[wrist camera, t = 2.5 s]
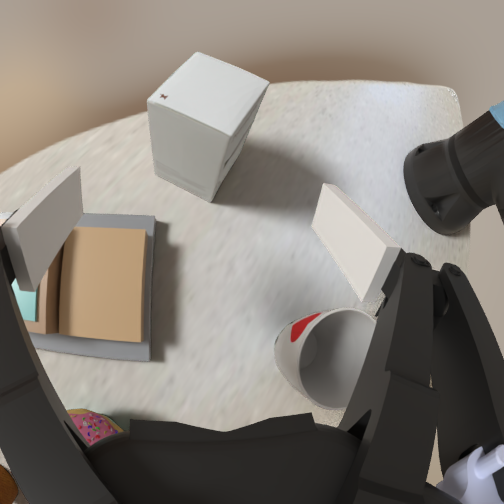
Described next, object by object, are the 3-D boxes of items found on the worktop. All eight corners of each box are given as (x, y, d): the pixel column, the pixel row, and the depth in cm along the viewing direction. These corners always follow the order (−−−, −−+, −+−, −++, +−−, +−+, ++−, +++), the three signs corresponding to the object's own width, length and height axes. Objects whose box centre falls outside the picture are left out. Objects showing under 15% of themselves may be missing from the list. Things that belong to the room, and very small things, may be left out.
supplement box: (211, 205, 31) (231, 139, 19) (152, 174, 30) (142, 98, 18) (241, 154, 33) (273, 81, 21) (187, 127, 32) (196, 48, 20)
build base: (155, 220, 29) (150, 199, 23) (150, 359, 26) (143, 369, 20) (3, 216, 24) (-22, 199, 19) (-8, 336, 21) (-37, 337, 16)
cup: (322, 303, 31) (376, 296, 22) (335, 371, 30) (391, 387, 21) (252, 320, 29) (285, 323, 20) (268, 394, 28) (307, 425, 18)
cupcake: (95, 382, 24) (48, 418, 13) (156, 438, 24) (146, 502, 13) (52, 425, 21) (2, 468, 10) (109, 477, 21) (86, 540, 10)
